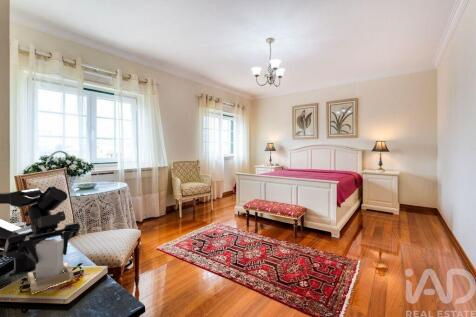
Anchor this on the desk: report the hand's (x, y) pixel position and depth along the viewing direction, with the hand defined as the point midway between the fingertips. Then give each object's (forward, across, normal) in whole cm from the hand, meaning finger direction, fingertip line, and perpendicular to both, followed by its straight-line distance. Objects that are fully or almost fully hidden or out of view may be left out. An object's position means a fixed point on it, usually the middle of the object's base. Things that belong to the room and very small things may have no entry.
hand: (51, 258), depth 71 cm
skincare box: (+4, 0, +6) cm, 7 cm away
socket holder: (+5, 0, +6) cm, 8 cm away
